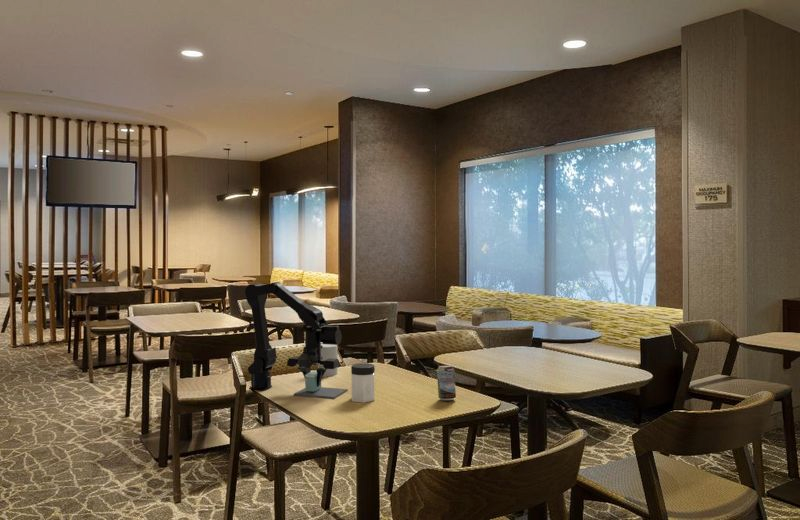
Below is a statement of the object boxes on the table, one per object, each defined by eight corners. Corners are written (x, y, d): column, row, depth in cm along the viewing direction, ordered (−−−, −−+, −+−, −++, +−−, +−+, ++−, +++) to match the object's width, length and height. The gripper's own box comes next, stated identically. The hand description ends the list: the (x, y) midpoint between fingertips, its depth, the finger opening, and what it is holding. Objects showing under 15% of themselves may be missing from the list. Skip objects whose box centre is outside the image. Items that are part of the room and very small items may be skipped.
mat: (293, 395, 218) (293, 393, 218) (308, 387, 229) (308, 386, 229) (334, 398, 213) (334, 397, 213) (347, 390, 225) (347, 389, 225)
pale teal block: (305, 390, 220) (305, 374, 220) (312, 387, 226) (312, 371, 226) (314, 391, 219) (314, 375, 219) (321, 387, 225) (321, 371, 224)
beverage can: (444, 403, 206) (444, 368, 206) (433, 398, 213) (433, 364, 213) (459, 401, 209) (459, 366, 209) (448, 396, 216) (448, 362, 215)
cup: (341, 373, 254) (341, 344, 254) (329, 377, 248) (328, 347, 247) (326, 371, 259) (326, 343, 258) (313, 374, 252) (313, 346, 252)
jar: (357, 404, 206) (357, 369, 206) (346, 398, 213) (346, 365, 212) (380, 400, 211) (380, 366, 211) (368, 395, 218) (368, 362, 217)
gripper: (279, 345, 217) (279, 389, 217) (327, 348, 211) (327, 393, 212) (294, 341, 227) (294, 382, 228) (339, 343, 222) (340, 385, 222)
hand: (313, 385), depth 222 cm, fingers closed on pale teal block, 3 cm apart
